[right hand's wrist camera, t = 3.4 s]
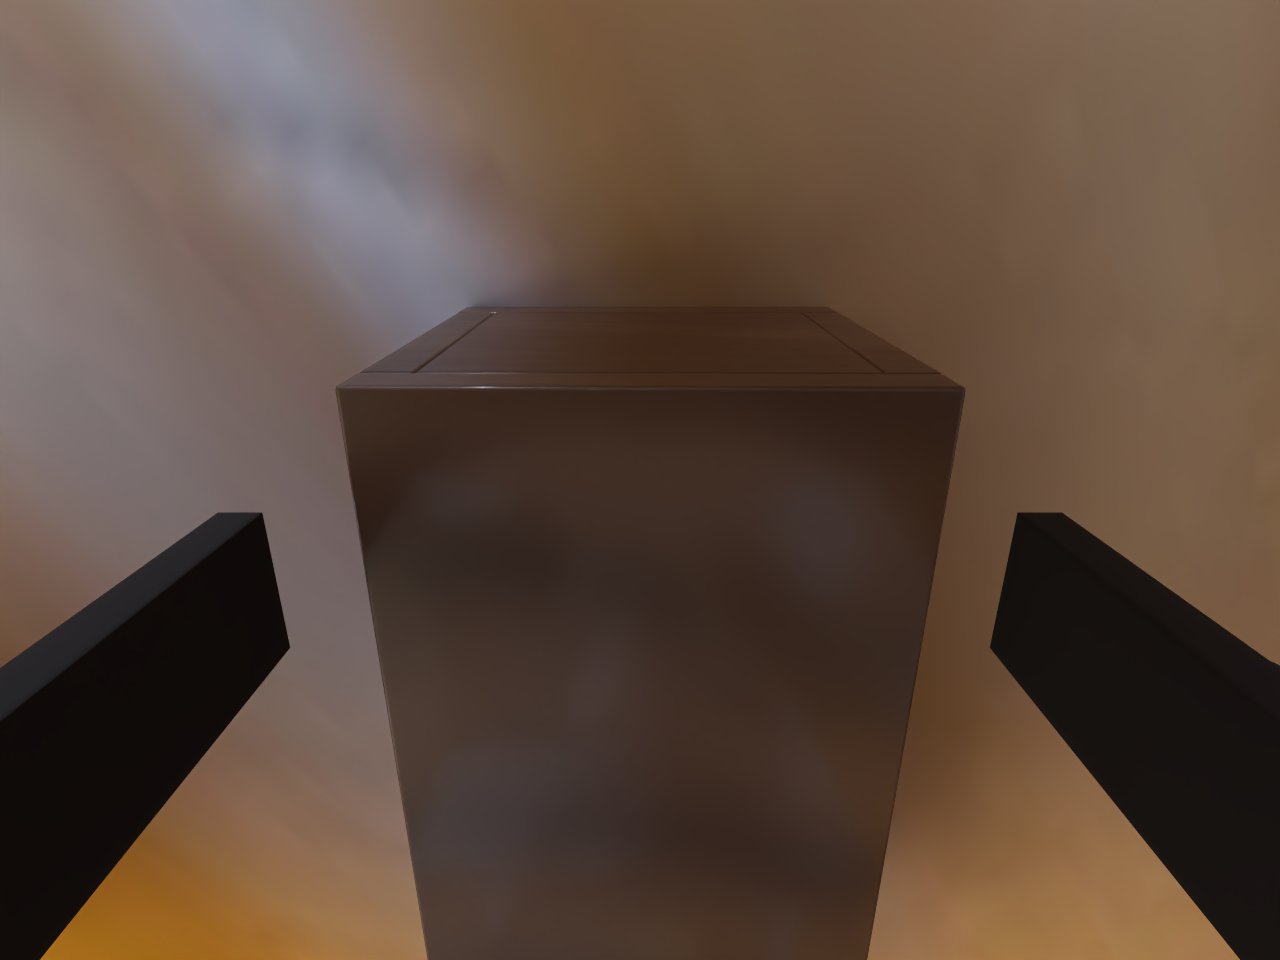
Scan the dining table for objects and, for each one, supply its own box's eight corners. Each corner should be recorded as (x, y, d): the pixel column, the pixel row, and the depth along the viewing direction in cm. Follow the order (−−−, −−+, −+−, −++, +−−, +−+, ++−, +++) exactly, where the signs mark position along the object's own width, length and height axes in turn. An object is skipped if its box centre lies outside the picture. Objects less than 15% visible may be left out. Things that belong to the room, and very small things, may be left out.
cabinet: (778, 843, 27) (838, 1132, 19) (513, 841, 27) (454, 1129, 19) (830, 307, 20) (967, 386, 11) (466, 306, 20) (333, 385, 11)
